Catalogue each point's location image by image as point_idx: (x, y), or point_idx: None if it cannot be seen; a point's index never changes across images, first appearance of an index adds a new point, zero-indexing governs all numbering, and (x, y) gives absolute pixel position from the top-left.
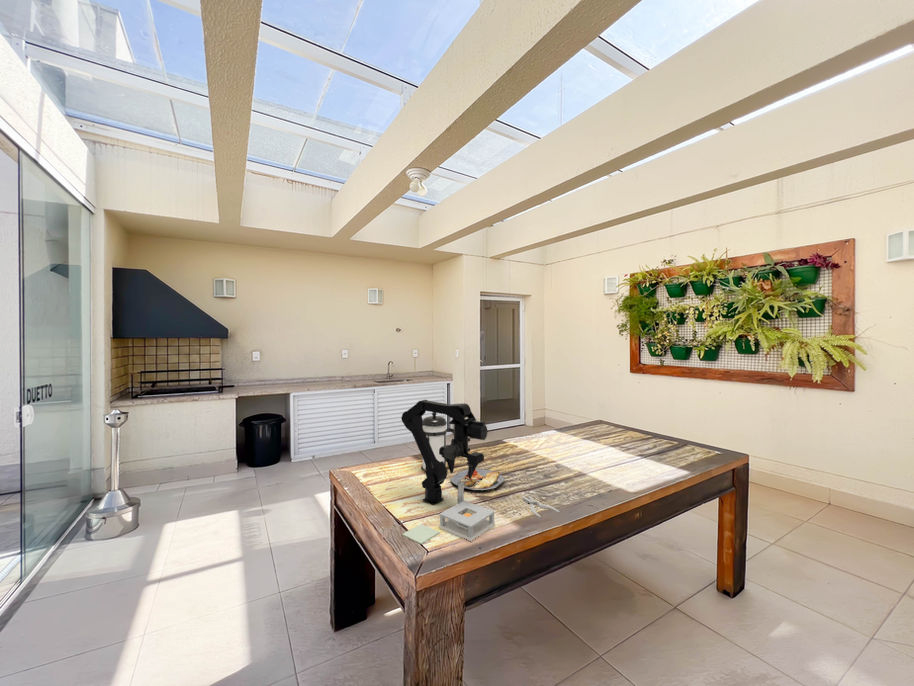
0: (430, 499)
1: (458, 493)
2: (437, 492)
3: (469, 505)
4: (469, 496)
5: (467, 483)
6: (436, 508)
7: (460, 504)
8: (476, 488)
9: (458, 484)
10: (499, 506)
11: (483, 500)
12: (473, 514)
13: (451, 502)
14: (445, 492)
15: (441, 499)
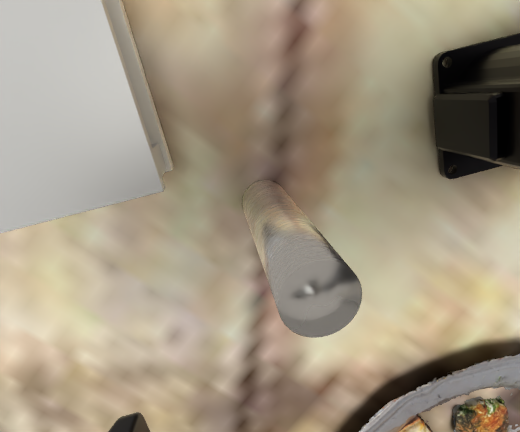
0: (494, 53)
1: (287, 215)
2: (492, 97)
3: (26, 166)
4: (360, 343)
5: (490, 422)
6: (376, 42)
7: (98, 101)
8: (404, 429)
9: (315, 254)
10: (126, 413)
11: (257, 381)
12: None
13: (374, 198)
14: (514, 253)
15: (439, 143)
